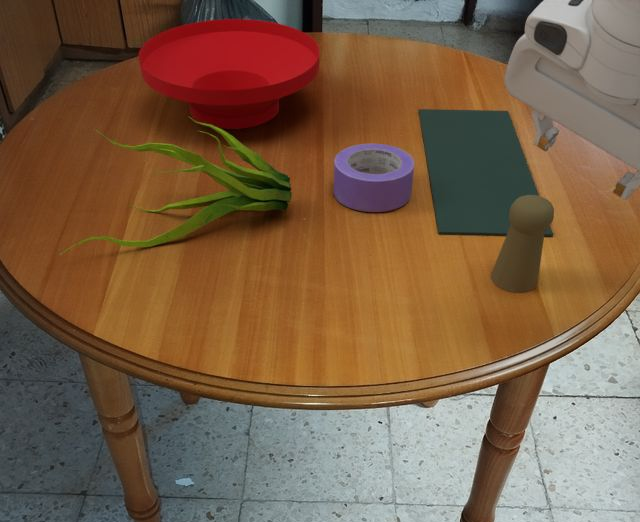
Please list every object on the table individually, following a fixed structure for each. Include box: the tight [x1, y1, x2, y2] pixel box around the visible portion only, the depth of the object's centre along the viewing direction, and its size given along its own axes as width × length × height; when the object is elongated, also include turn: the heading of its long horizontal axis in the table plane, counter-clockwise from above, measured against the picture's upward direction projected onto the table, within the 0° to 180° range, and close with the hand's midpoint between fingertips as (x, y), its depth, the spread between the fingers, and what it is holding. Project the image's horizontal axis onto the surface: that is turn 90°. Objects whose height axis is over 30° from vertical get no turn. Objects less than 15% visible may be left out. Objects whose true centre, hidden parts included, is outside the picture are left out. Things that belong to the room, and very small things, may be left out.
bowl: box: [137, 18, 321, 130], centre depth 117 cm, size 30×30×10 cm
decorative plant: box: [58, 115, 293, 256], centre depth 89 cm, size 18×30×15 cm, turn 89°
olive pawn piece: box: [490, 195, 555, 293], centre depth 84 cm, size 6×6×11 cm
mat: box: [418, 108, 554, 238], centre depth 108 cm, size 40×16×1 cm, turn 178°
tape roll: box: [333, 143, 415, 213], centre depth 100 cm, size 12×12×5 cm
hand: (582, 168), depth 68 cm, fingers open, 8 cm apart
